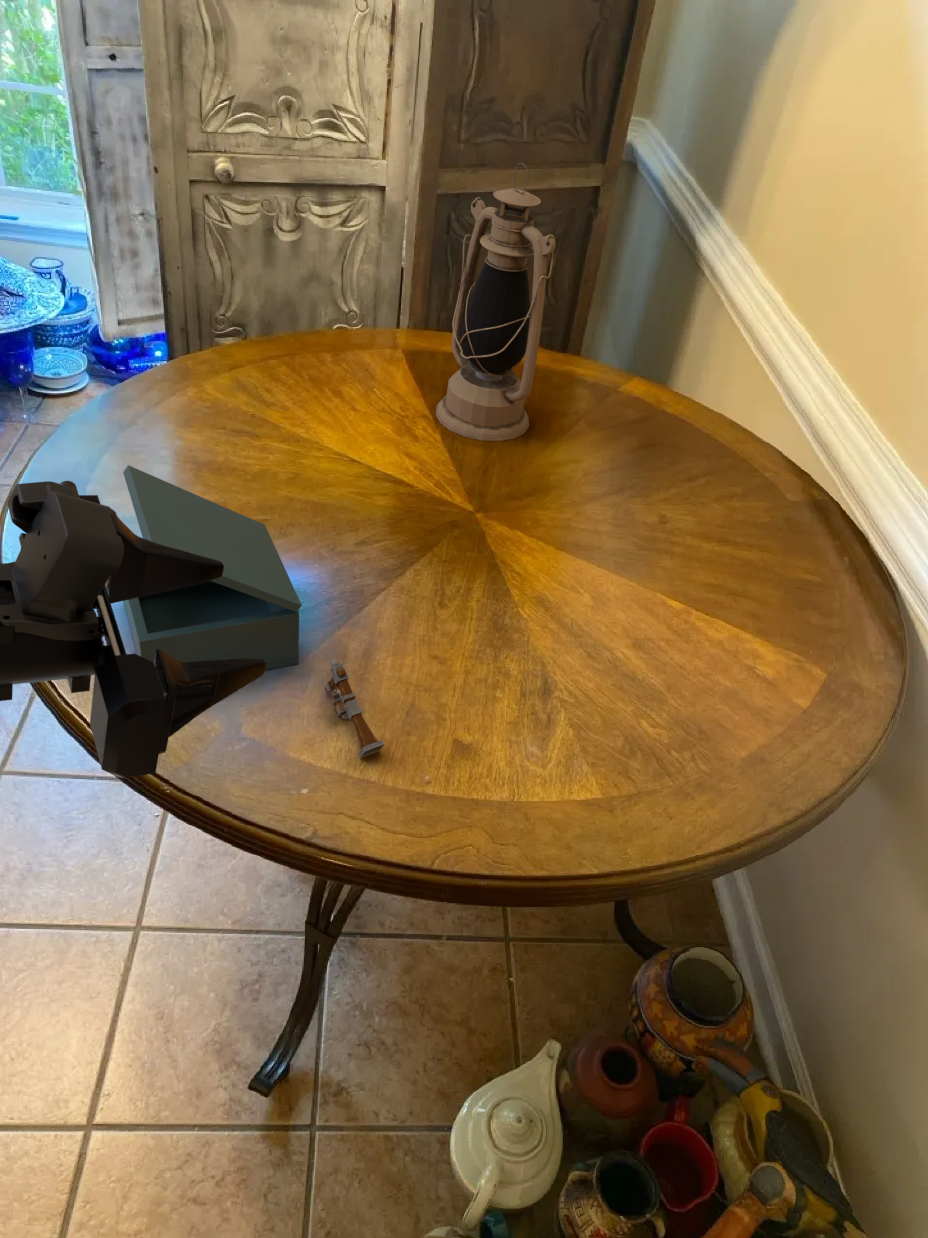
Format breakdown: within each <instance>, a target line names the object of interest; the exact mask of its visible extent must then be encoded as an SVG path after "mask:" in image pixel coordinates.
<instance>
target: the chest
mask: <svg viewBox="0 0 928 1238" xmlns="http://www.w3.org/2000/svg"><path fill="white" fill-rule="evenodd" d="M122 603H123V604H122V605H123V609H124V612H125V616H126V621H127V624H128V627H129V632H130V635H131V639H132V643H133V648H134V651H135V654H137V655H139V656H141V657H143V658H145V659H148V660H150V661H152V662H153V663H154V659H155V653H156V649H160V650H162V651H163V652H165V653H167V654H168V655H170V656H172V657H173V658H175V659H177V660H178V661H181V662H194V661H208V660H222V659H235V658H259V659H264V660H265V661H266V663H267V666H266V669H265V671H268V670H269V671H270V670H276V669H280V668H284V667H285V668H286V667H289V666H294V665H295V666H296V665H299V648H300V646H299V645H300V612H299V610H298V611H297V612H294V611H292V610H289V609H286V608H284V607H281V606H278V605H275V604H273V603H270V602H267V601H264V600H262V599H259V598H256V597H253V596H251V595H248V594H245V593H243V592H240V591H237V590H234V589H232V588H229V587H226V586H223V585H221V584H218V583H215V582H212V581H207V582H204V583H201V584H197V585H192V586H188V587H183V588H179V589H174V590H170V591H165V592H161V593H156V594H152V595H147V596H143V597H139V598H134V599H130V600H125V601H122Z"/></svg>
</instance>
